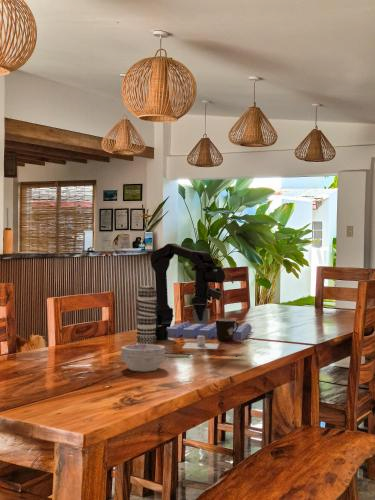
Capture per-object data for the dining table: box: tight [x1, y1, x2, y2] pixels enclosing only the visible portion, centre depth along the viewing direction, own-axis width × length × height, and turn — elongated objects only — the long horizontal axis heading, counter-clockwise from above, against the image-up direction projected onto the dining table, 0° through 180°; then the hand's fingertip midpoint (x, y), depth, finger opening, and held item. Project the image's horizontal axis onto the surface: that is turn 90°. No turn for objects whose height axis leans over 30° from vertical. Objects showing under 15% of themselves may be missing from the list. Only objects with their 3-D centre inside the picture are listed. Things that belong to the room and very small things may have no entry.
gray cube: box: [192, 308, 211, 325], centre depth 269 cm, size 6×6×6 cm
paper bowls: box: [120, 343, 166, 373], centre depth 225 cm, size 15×15×8 cm
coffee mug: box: [215, 318, 239, 342], centre depth 287 cm, size 12×9×10 cm
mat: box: [165, 352, 192, 359], centre depth 255 cm, size 11×11×1 cm
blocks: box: [167, 320, 252, 341], centre depth 312 cm, size 35×34×5 cm
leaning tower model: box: [135, 285, 158, 345], centre depth 278 cm, size 9×9×25 cm
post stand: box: [181, 336, 220, 350], centre depth 269 cm, size 14×14×5 cm
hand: (201, 319), depth 269 cm, fingers closed on gray cube, 6 cm apart
